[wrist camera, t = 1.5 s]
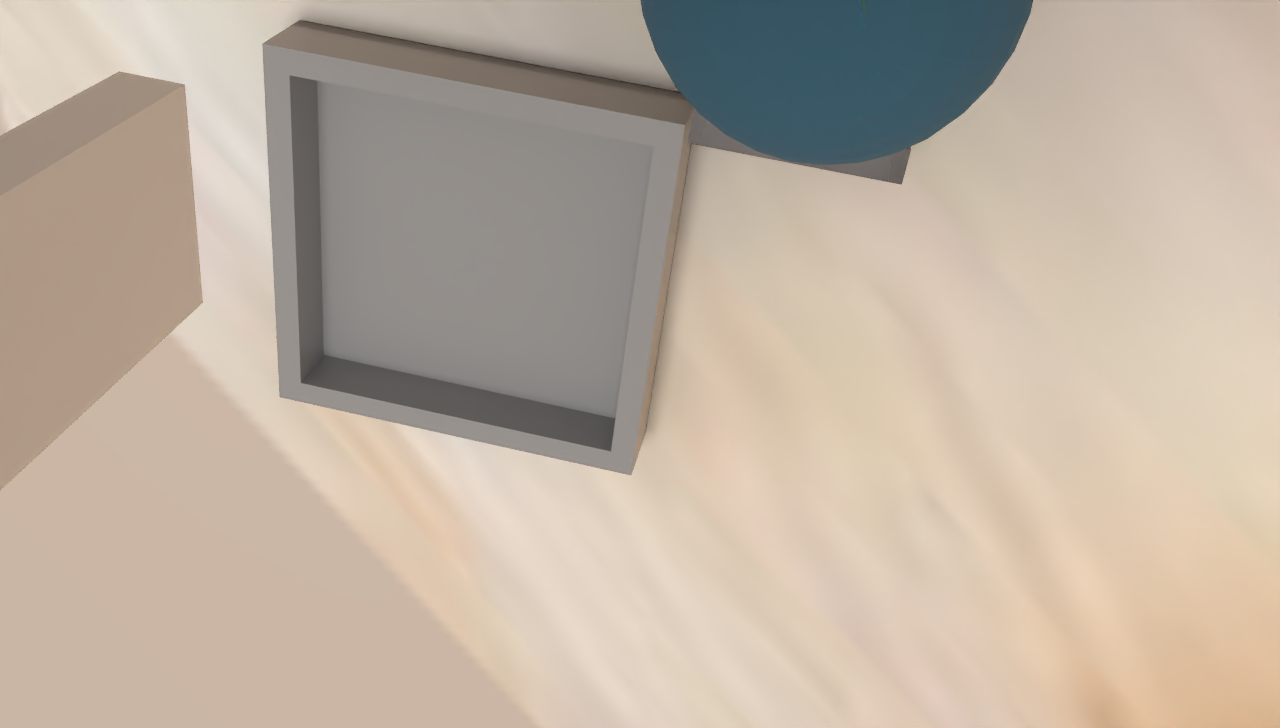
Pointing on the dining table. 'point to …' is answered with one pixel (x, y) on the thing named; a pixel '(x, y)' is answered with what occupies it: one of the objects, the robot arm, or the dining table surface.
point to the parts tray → (471, 240)
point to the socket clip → (878, 168)
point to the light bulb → (833, 68)
